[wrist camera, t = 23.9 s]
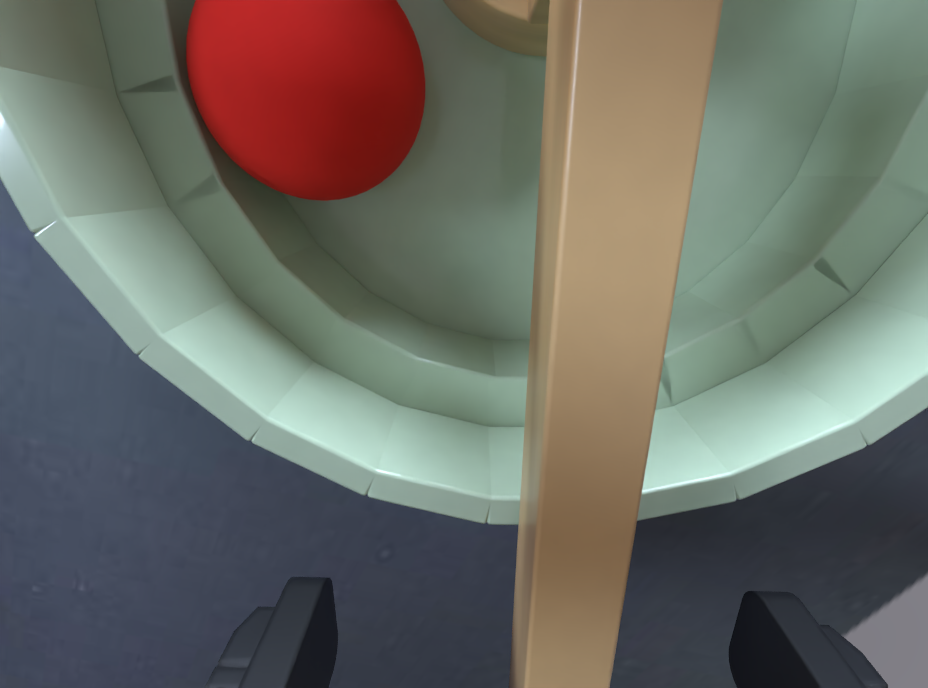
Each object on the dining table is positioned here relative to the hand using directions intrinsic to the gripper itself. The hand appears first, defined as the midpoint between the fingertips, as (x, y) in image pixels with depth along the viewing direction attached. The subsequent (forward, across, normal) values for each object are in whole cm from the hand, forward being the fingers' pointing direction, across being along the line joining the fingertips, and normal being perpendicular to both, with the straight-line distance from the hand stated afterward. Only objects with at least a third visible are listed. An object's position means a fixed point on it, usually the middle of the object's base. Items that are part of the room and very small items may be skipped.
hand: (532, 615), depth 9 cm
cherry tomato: (+3, +4, -10) cm, 11 cm away
